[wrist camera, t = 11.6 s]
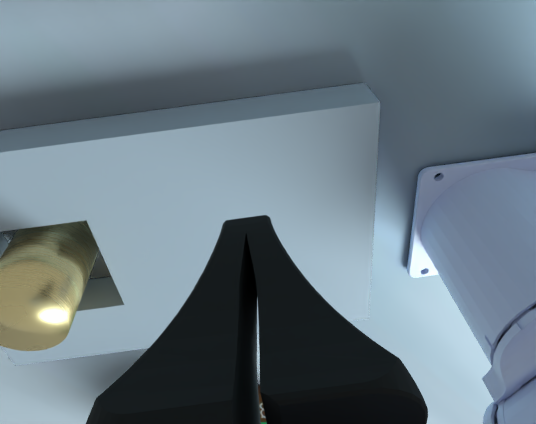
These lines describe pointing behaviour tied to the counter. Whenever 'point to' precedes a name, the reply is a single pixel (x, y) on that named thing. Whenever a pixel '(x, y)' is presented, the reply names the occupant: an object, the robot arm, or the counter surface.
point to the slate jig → (198, 201)
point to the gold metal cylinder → (44, 283)
